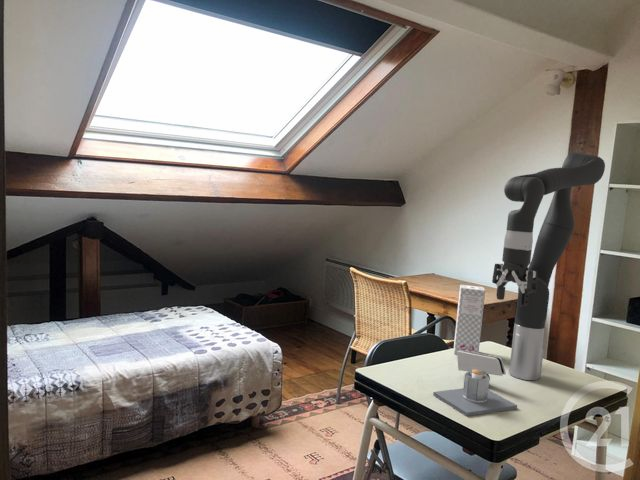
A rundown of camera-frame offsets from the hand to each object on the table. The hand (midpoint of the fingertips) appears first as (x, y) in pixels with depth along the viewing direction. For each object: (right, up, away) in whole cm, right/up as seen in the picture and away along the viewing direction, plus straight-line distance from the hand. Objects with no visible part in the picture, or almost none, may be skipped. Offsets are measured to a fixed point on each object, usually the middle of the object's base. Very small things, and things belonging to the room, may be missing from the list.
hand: (511, 302), depth 143 cm
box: (0, -25, +44) cm, 50 cm away
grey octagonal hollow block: (-12, -26, -3) cm, 29 cm away
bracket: (-10, -23, +17) cm, 30 cm away
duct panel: (-12, -28, -3) cm, 30 cm away
